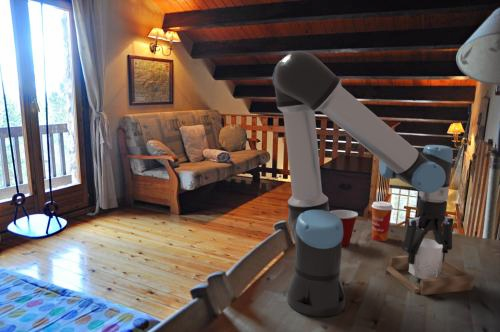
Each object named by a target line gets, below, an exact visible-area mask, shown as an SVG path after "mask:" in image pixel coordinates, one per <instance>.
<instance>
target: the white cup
mask: <svg viewBox="0 0 500 332" xmlns="http://www.w3.org/2000/svg"><path fill="white" fill-rule="evenodd" d="M442 249H443V245H442V244H441V245H440V244H438V243H437V242H436V241H435V240H434V239H429V238H423V240H422V243H421V245H420V246H419V249H418V251H417V254H418V255H419V257H418V266H417V276H415V277H416V278H418V279H420V280H421V279H432V278H438V275H439V274H438V270H439V265H440V261H441V255H442Z"/></svg>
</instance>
